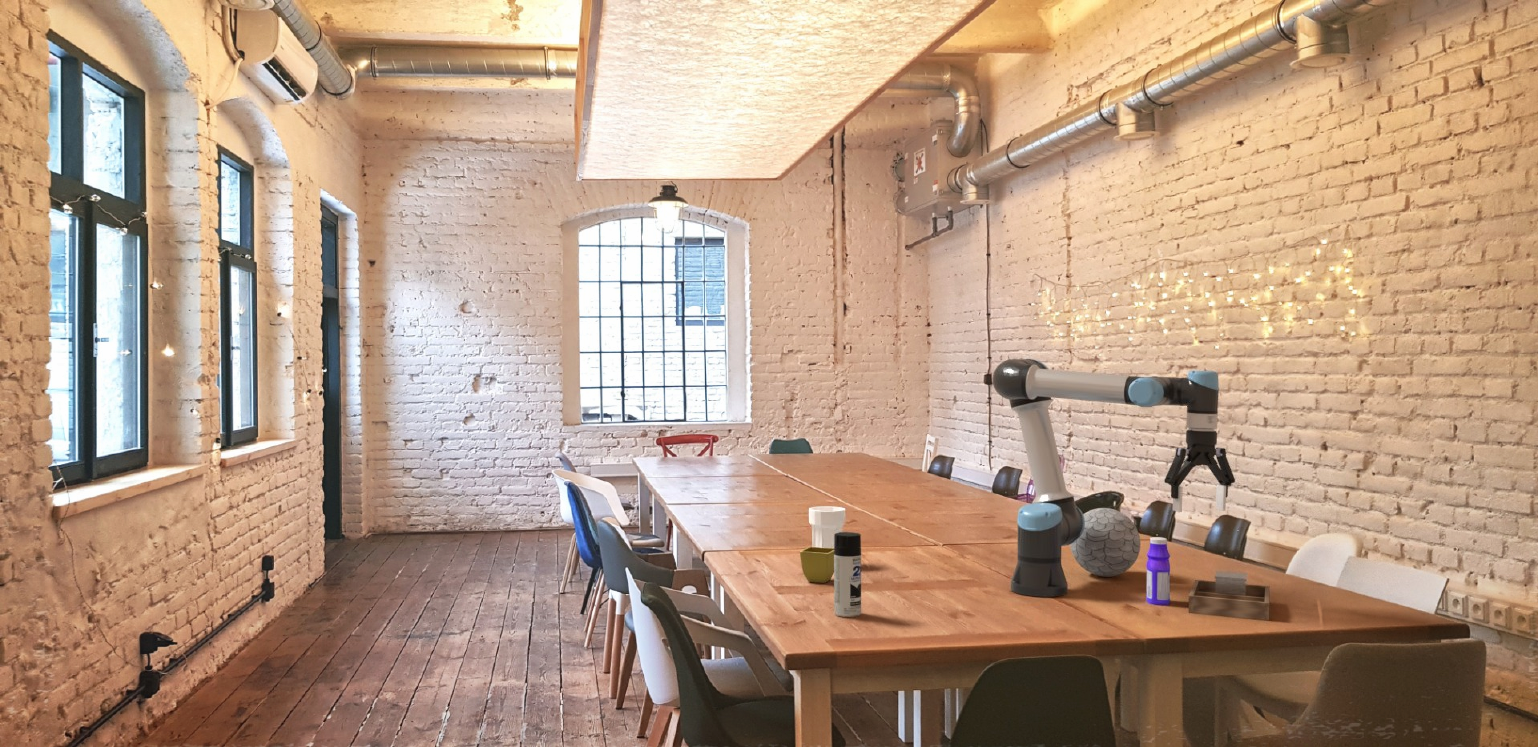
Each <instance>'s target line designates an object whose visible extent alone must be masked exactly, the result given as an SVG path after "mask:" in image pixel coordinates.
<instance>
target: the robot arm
mask: <svg viewBox="0 0 1538 747" xmlns="http://www.w3.org/2000/svg"><path fill="white" fill-rule="evenodd" d="M992 385H993V388H994V390H995V392H996V393H997V394H998V395H999V396H1000V397H1001V398H1004V399H1005V400H1009V405H1010V409H1011V410H1012V411H1013V412H1014V413H1016V414H1017V416H1018V420H1019V425H1020V429H1021V434H1022V438H1023V441H1024V448H1025V451H1026V456H1027V460H1028V464H1029V469H1030V474H1031V478H1032V484H1033V487H1034V491H1035V497H1034V499H1033V500H1032V502H1031V503H1028V504H1024V505H1022V506H1021V507H1020V508H1019V509H1018V512H1017V520H1016V523H1017V562H1016V566H1015V568H1014V571H1013V574H1012V577H1011V580H1010V591H1011V592H1013V593H1016V594H1021V595H1023V596H1031V597H1041V598H1043V597H1044V598H1045V597H1060V596H1065V595H1067V594H1068V593H1069V589H1068V587H1069V585H1068V581H1067V578H1066V575H1065V572H1064V569H1063V564H1062V547H1067V546H1070V544H1072V543H1073V542H1075V541H1076V540H1077V539H1078V538H1079V537H1080V536H1081V535H1082V533H1083V531H1084V527H1085V519H1084V515H1083V514H1084V513H1083V511H1082V510H1081V509H1080V507H1078V506H1077V505H1076V502H1075V497H1074V495H1073V494H1072V493H1071V492H1069V490H1067V487H1066V486H1067V485H1066V483H1065V482H1066V481H1065V478H1064V473H1063V469H1062V465H1061V460H1060V456H1059V452H1058V448H1057V442H1056V438H1055V433H1054V429H1053V425H1052V420H1051V416H1050V412H1049V407H1050V405H1051V403H1052V402H1053V400H1052V398H1054V399H1056V398H1057V399H1064V400H1065V399H1067V400H1076V401H1086V402H1087V401H1088V402H1099V403H1110V404H1112V403H1113V404H1120V405H1121V404H1122V405H1130V406H1138V407H1142V408H1152V407H1157V406H1160V407H1161V406H1175V407H1176V406H1178V407H1186V422H1185V423H1186V424H1185V425H1186V429H1187V430H1186V431H1185V432H1186V433H1185V443H1186V445H1187V446H1186V448H1184V447H1177V448H1176V449H1175V456H1174V458H1173V460H1172V463H1171V465H1170V466H1169V469H1168V472H1167V473H1166V476H1165V478H1164V480H1163V481H1164V483H1165V484H1168V485H1169V486H1170V497H1171V499H1172V511H1174V512H1178V513H1182V512H1183V488H1184V487H1183V486H1181V485H1182V483H1183V482H1184V480H1186V478H1187V476H1188V475H1189V474H1190V472H1191V471H1192V469H1193V468H1195V467H1197V466H1200V467H1201V466H1207V467H1208V470H1210V472H1211V473H1212V474H1213V476H1214V477H1215V480H1216V481H1217V482H1218V484H1216V492H1215V494H1216V495H1215V501H1216V502H1215V510H1217V511H1222V512H1223V511H1224V512H1225V511H1226V504H1227V503H1226V502H1227V498H1228V495H1229V487H1231V486H1232V484H1234V483H1236V479H1235V476H1234V474H1233V471H1232V468H1231V466H1230V463H1229V461H1228V460H1229V459H1228V457H1227V450H1226V448H1223V447H1216V445H1217V443H1218V432H1217V431H1216V430H1217V429H1218V412H1219V411H1218V410H1219V394H1220V393H1219V392H1220V387H1219V374H1218V373H1217V372H1216V371H1214V370H1190V371H1188V373H1187V377H1171V376H1155V375H1154V376H1137V375H1136V376H1135V375H1123V374H1110V373H1100V372H1099V373H1098V372H1085V371H1084V372H1083V371H1071V370H1059V369H1049V367H1047V365H1046V364H1044V363H1042V362H1041V361H1040V360H1036V359H1033V358H1023V359H1022V358H1020V359H1018V358H1012V359H1006V360H1004V361H1003V362H1000V363H999V364H998V365H997V366H996V368H995V370H994V371H993V374H992ZM1215 457H1216V459H1215Z"/></svg>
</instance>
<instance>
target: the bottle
mask: <svg viewBox="0 0 1538 747" xmlns="http://www.w3.org/2000/svg"><path fill="white" fill-rule="evenodd" d="M1149 540H1150V542H1149V549H1148V551H1147V553H1146V556H1147V561H1146V592H1145V594H1146V596H1145V599H1146V600H1145V601H1146V602H1147V603H1148V604H1149V605H1155V606H1169V605H1170V602H1171V594H1170V592H1171V591H1170V588H1171V587H1170V586H1171V584H1170V583H1171V582H1170V581H1171V579H1170V576H1171V575H1170V574H1171V563H1170V558H1171V554H1170V552H1169V550H1168V539H1167V538H1165V537H1163V536H1153V537H1150V538H1149Z"/></svg>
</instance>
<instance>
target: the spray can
mask: <svg viewBox="0 0 1538 747" xmlns="http://www.w3.org/2000/svg"><path fill="white" fill-rule="evenodd" d="M861 536H862V535H861V534H860V533H859V532H850V531H842V532H839V533H836V534H835V535H834V573H833V590H834V591H833V594H834V595H833V598H834V600H833V602H834V603H833V604H834V605H833V607H834V608H833V612H834V615H835V616H836V617H837V616H838V617H841V618H856V617H859V616H861V614H862V544H861V543H862V539H861V538H862V537H861Z"/></svg>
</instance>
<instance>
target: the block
mask: <svg viewBox="0 0 1538 747" xmlns="http://www.w3.org/2000/svg"><path fill="white" fill-rule="evenodd" d="M1214 579H1215V593H1219V594H1230V595H1240V596H1246V584H1247V580H1248V572H1240V571H1239V572H1238V571H1227V570H1226V571H1225V570H1215V574H1214Z"/></svg>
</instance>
